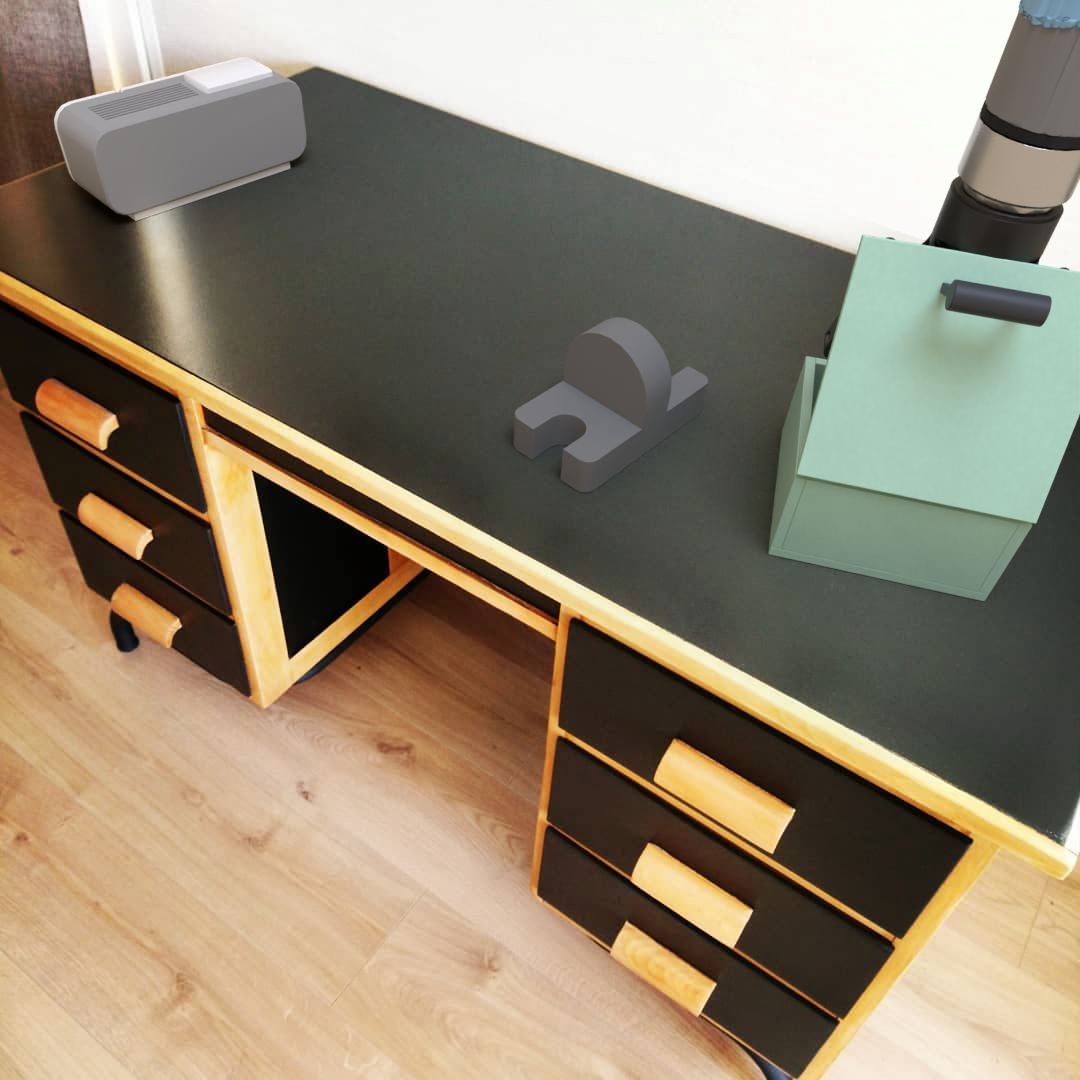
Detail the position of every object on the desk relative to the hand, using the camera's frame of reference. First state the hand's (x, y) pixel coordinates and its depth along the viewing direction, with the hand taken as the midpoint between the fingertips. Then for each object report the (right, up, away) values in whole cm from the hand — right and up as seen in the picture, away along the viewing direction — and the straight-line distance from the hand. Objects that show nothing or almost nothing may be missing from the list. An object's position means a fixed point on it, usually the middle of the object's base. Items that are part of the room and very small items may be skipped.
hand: (899, 438), depth 80 cm
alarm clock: (-74, +36, +38) cm, 90 cm away
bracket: (-24, +2, +10) cm, 26 cm away
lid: (-1, +3, -12) cm, 12 cm away
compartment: (-1, -6, +4) cm, 7 cm away
